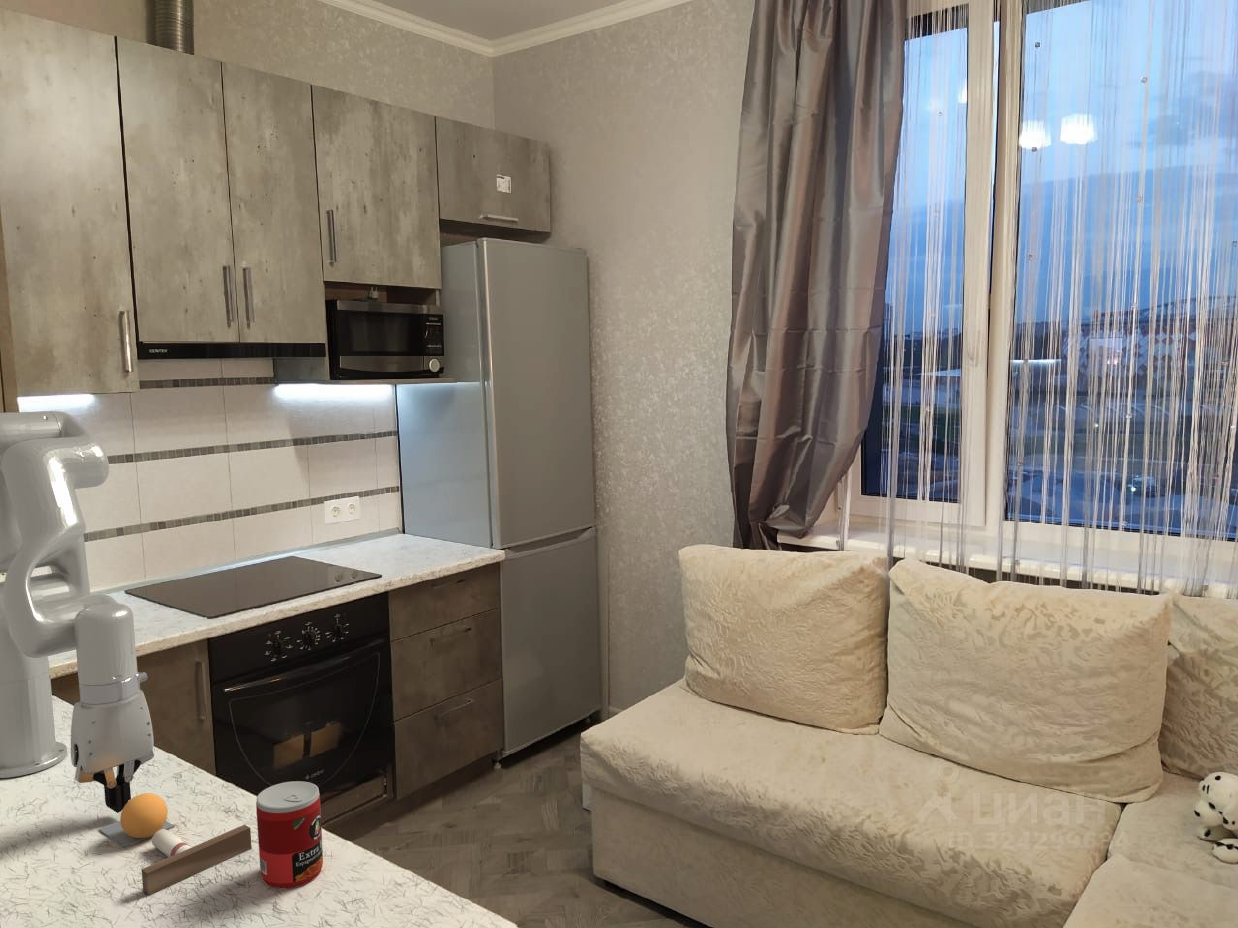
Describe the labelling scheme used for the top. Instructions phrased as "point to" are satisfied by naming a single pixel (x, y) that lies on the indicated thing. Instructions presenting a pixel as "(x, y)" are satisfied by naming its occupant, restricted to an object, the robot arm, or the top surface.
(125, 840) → the grey flat plate
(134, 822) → the ball
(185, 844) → the pin
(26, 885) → the top surface
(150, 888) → the back wall
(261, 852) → the canned food
